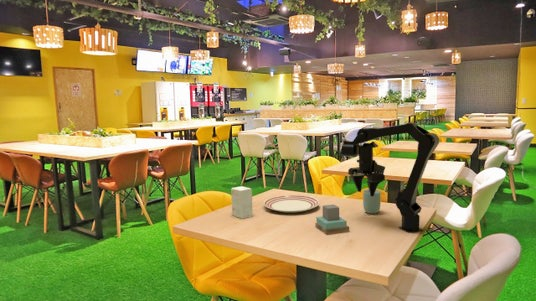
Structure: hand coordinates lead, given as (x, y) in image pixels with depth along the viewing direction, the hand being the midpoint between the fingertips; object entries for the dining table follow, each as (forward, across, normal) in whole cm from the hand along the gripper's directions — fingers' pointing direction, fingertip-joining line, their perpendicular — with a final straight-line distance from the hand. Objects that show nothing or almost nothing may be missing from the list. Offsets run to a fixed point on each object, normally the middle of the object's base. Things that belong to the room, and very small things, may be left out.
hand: (365, 194), depth 161 cm
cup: (+12, +10, -10) cm, 19 cm away
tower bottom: (+13, -3, +18) cm, 22 cm away
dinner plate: (+12, +34, +20) cm, 41 cm away
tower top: (+10, -3, +18) cm, 21 cm away
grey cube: (+8, -2, +18) cm, 20 cm away
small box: (+12, +31, +46) cm, 57 cm away
